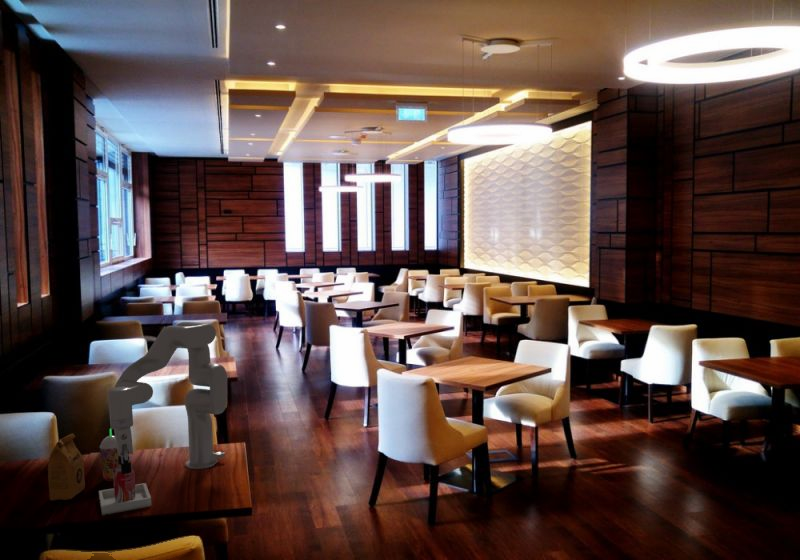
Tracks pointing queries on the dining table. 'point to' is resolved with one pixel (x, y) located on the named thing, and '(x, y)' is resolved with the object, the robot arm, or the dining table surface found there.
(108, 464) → the smoothie
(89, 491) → the dining table surface
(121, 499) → the soda can
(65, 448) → the coffee package
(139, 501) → the tray
